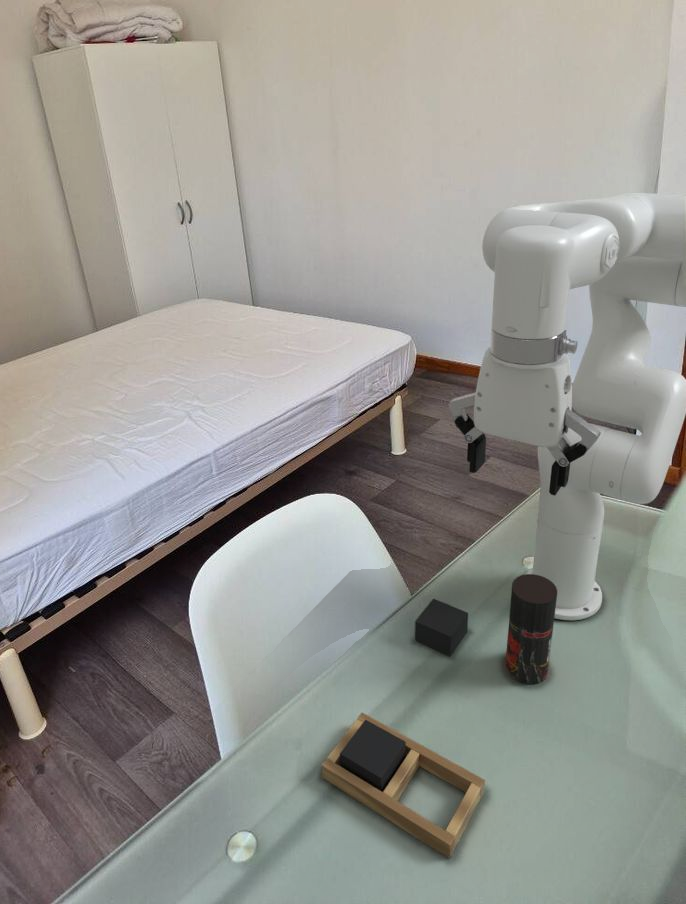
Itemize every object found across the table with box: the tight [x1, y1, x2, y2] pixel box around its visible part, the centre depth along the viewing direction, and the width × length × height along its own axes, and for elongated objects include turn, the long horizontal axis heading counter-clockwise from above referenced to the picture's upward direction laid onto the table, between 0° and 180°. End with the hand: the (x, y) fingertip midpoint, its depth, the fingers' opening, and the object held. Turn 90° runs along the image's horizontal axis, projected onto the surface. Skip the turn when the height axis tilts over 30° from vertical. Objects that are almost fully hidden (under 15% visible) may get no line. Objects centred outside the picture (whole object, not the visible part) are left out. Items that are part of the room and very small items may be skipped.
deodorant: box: [504, 573, 557, 686], centre depth 97 cm, size 6×6×15 cm
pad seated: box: [340, 720, 406, 792], centre depth 87 cm, size 6×6×4 cm
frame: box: [321, 712, 486, 859], centre depth 85 cm, size 9×18×2 cm, turn 53°
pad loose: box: [414, 598, 469, 657], centre depth 106 cm, size 6×6×4 cm
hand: (515, 478), depth 82 cm, fingers open, 9 cm apart
